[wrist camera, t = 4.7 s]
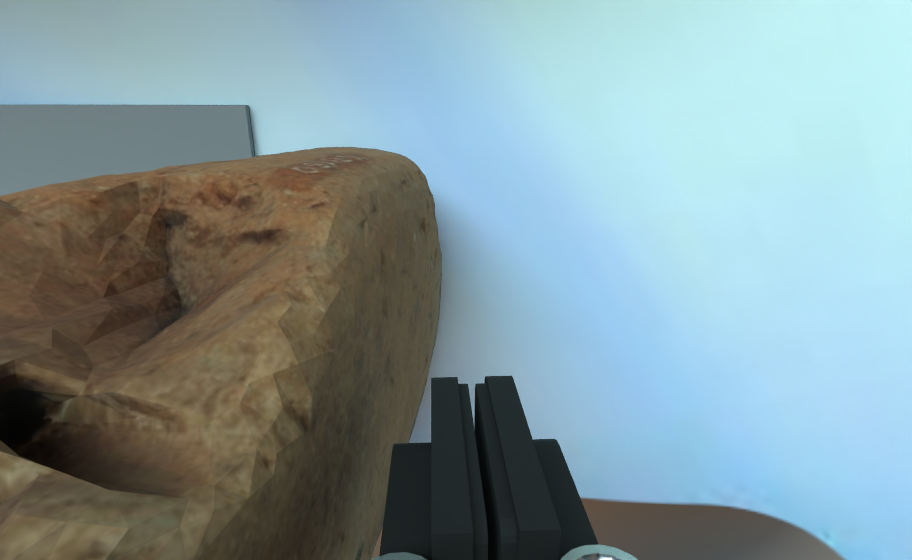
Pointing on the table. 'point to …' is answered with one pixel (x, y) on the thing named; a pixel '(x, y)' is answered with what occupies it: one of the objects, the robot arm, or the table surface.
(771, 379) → the table surface
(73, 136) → the mat
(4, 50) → the table surface
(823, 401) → the table surface
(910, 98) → the table surface
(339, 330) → the block
